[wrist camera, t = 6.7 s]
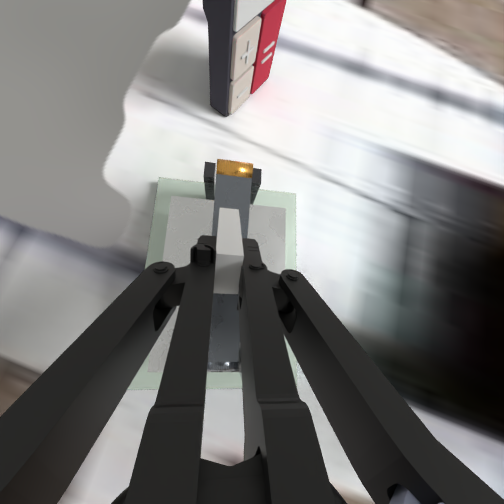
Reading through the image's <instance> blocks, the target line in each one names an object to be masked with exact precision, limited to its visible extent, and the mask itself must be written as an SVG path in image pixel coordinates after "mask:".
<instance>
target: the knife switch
mask: <svg viewBox="0 0 504 504" xmlns="http://www.w3.org/2000/svg"><path fill="white" fill-rule="evenodd" d="M204 185H205V195H206V199H197V198H188V197H178V196H171V202H170V209H169V216H168V224H167V231H166V238H165V246H164V253H163V260H162V261H164V262H169V263H172V264H173V265H174V266H175V268H179V267H184V266H187V265H189V264H190V249H191V247H192V246H194V245H196V244H197V241H198V238H199V237H200V236H202V235H208V236H212V224H213V211H214V198H215V185H216V163H210V162H205V169H204ZM260 185H261V169H256V168H253V174H252V183H251V197H250V210H249V224H248V237H247V238H249V239H255V240H256V241H257V242H258V245H259V250H260V254H261V258H262V262H263V263H264V264H265V265H266V266H267V269H268V270H269V271H271V272H274V273H277V274H281V272H282V271H283V270H285V237H286V208H280V207H271V206H262V205H253V203H254V200H255V198H256V195H257V193H258V190H259V187H260ZM178 310H179V306H177V307H176V310H175V312H174V313H173V315H172V316H171V318H170V320H169V321H168V323H167V325H166V326H165V328H164V330H163V331H162V333H161V335H160V336H159V338H158V339H157V341H156V343H155V344H154V346H153V348H152V349H151V351H150V356H149V363H148V370H147V372H163V370H164V366H165V362H166V358H167V354H168V350H169V346H170V342H171V338H172V334H173V330H174V326H175V322H176V318H177V314H178ZM284 338H285V336H284ZM207 372H239V373H240V376H241V379H242V370H241V350H240V345H239V359H238V371H207Z"/></svg>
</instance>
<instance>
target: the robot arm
mask: <svg viewBox="0 0 504 504" xmlns="http://www.w3.org/2000/svg"><path fill="white" fill-rule="evenodd" d="M238 291H239V298H238V304H237V310H239V329H240V350H241V370H242V390H243V411H244V431H245V443H244V461H243V462H241V463H238V464H236V465H234V466H226V465H222V464H219V463H215V462H212V461H208V460H205V459H201V458H200V457H201V444H202V432H203V419H204V406H205V394H206V381H207V368H208V355H209V343H210V330H211V317H212V305H213V293H220V294H238ZM177 306H179V310H178V314H177V318H176V322H175V326H174V330H173V334H172V338H171V342H170V346H169V350H168V354H167V358H166V362H165V366H164V370H163V374H162V378H161V382H160V386H159V390H158V394H157V398H156V402H155V404H154V406H153V407H152V408H151V409H150V411H149V414H148V417H147V420H146V424H145V427H144V431H143V435H142V439H141V443H140V446H139V450H138V454H137V458H136V462H135V465H134V469H133V473H132V477H131V480H130V484H129V487H127V488H126V489H125V490H124V491H123V492H122V493H121V494H120V495H119V496H118V497H117V498H116V499H115V500H114V501H113V502H112V503H111V504H347V503H346V502H345V500H344V499H343V498H342V496H341V495H340V494H339V493H338V491H337V490H336V489H335V488H334V487H333V485H332V484H331V483H330V482H329V479H328V475H327V471H326V468H325V464H324V460H323V457H322V453H321V449H320V445H319V442H318V438H317V434H316V431H315V427H314V423H313V420H312V416H311V413H310V410H309V408H308V406H307V404H306V403H305V402H303V401H301V400H300V398H299V395H298V391H297V387H296V383H295V379H294V375H293V371H292V367H291V363H290V359H289V355H288V351H287V347H286V342H285V338H286V340H287V342H288V344H289V346H290V348H291V350H292V352H293V353H294V355H295V357H296V359H297V361H298V363H299V365H300V367H301V369H302V371H303V373H304V375H305V376H306V378H307V380H308V382H309V384H310V386H311V388H312V390H313V392H314V394H315V396H316V398H317V399H318V401H319V403H320V405H321V407H322V409H323V411H324V413H325V415H326V417H327V419H328V421H329V422H330V424H331V426H332V428H333V430H334V432H335V434H336V436H337V438H338V440H339V442H340V443H341V445H342V447H343V449H344V451H345V453H346V455H347V457H348V459H349V461H350V463H351V465H352V466H353V468H354V470H355V472H356V473H357V475H358V477H359V479H360V480H361V482H362V484H363V486H364V487H365V489H366V490H367V492H368V493H369V495H370V496H371V498H372V499H373V501H374V502H375V504H504V499H503V498H501V497H500V496H499V495H498V494H497V493H496V492H495V491H494V490H492V489H491V488H490V487H489V486H488V485H487V484H486V483H485V482H483V481H482V480H481V479H480V478H479V477H478V476H477V475H476V474H474V473H473V472H472V471H471V470H470V469H469V468H468V467H467V466H465V465H464V464H463V463H462V462H461V461H460V460H459V459H458V458H456V457H455V456H454V455H453V454H452V453H451V452H450V451H449V450H447V449H446V448H445V447H444V446H443V445H442V444H441V443H440V442H438V441H437V440H436V439H435V437H434V436H433V435H432V434H431V433H430V431H429V430H428V429H427V428H426V426H425V425H424V424H423V423H422V421H421V420H420V419H419V418H418V416H417V415H416V414H415V413H414V412H413V410H412V409H411V408H410V407H409V405H408V404H407V403H406V402H405V400H404V399H403V398H402V397H401V396H400V394H399V393H398V392H397V391H396V389H395V388H394V387H393V386H392V384H391V383H390V382H389V381H388V379H387V378H386V377H385V376H384V375H383V373H382V372H381V371H380V370H379V368H378V367H377V366H376V365H375V363H374V362H373V361H372V360H371V358H370V357H369V356H368V355H367V354H366V352H365V351H364V350H363V349H362V347H361V346H360V345H359V344H358V342H357V341H356V340H355V339H354V338H353V336H352V335H351V334H350V333H349V331H348V330H347V329H346V328H345V326H344V325H343V324H342V323H341V321H340V320H339V319H338V318H337V317H336V315H335V314H334V313H333V312H332V310H331V309H330V308H329V307H328V305H327V304H326V303H325V302H324V300H323V299H322V298H321V297H320V296H319V294H318V293H317V292H316V291H315V289H314V288H313V287H312V286H311V284H310V283H309V282H308V281H307V279H306V278H305V277H304V276H303V275H302V274H301V273H300V272H298V271H296V270H293V269H285V270H283V271H282V272H281V274H277V273H274V272H271V271H269V270H268V269H267V266H266V265H265V264H264V263H263V262H262V258H261V254H260V250H259V245H258V242H257V241H256V240H255V239H249V238H242V234H241V225H240V216H239V209H229V208H220V209H219V221H218V232H217V236H208V235H202V236H200V237H199V238H198V241H197V244H196V245H194V246H192V247H191V249H190V264H189V265H187V266H184V267H179V268H175V266H174V265H173V264H172V263H169V262H164V261H160V262H155V263H152V264H151V265H149V266H148V267H147V268H146V269H145V270H144V271H143V272H142V273H141V274H140V275H139V276H138V277H137V278H136V279H135V280H134V281H133V282H132V283H131V284H130V285H129V286H128V287H127V288H126V289H125V290H124V291H123V292H122V293H121V294H120V295H119V296H118V297H117V299H116V300H115V301H114V302H113V303H112V304H111V305H110V306H109V307H108V308H107V309H106V310H105V311H104V312H103V313H102V314H101V315H100V316H99V317H98V318H97V319H96V320H95V321H94V322H93V323H92V324H91V325H90V326H89V327H88V328H87V329H86V330H85V331H84V332H83V333H82V334H81V335H80V336H79V337H78V338H77V339H76V340H75V341H74V342H73V343H72V344H71V345H70V346H69V347H68V348H67V349H66V350H65V351H64V352H63V353H62V355H61V356H60V357H59V358H58V359H57V360H56V361H55V362H54V363H53V364H52V365H51V366H50V367H49V368H48V369H47V370H46V371H45V372H44V373H43V374H42V375H41V376H40V377H39V378H38V379H37V380H36V381H35V382H34V383H33V384H32V385H31V386H30V387H29V388H28V389H27V390H26V391H25V392H24V393H23V394H22V395H21V396H20V397H19V398H18V399H17V400H16V401H15V402H14V403H13V404H12V405H11V406H10V407H9V408H8V409H7V411H6V412H5V413H4V414H3V415H2V416H1V417H0V504H57V503H58V501H59V500H60V498H61V497H62V495H63V494H64V492H65V491H66V489H67V488H68V486H69V484H70V483H71V481H72V479H73V478H74V476H75V474H76V473H77V471H78V469H79V468H80V466H81V464H82V463H83V461H84V460H85V458H86V456H87V455H88V453H89V451H90V450H91V448H92V446H93V445H94V443H95V441H96V440H97V438H98V437H99V435H100V433H101V432H102V430H103V428H104V427H105V425H106V423H107V422H108V420H109V418H110V417H111V415H112V413H113V412H114V410H115V409H116V407H117V405H118V404H119V402H120V400H121V399H122V397H123V395H124V394H125V392H126V390H127V389H128V387H129V386H130V384H131V382H132V381H133V379H134V377H135V376H136V374H137V372H138V371H139V369H140V367H141V366H142V364H143V363H144V361H145V359H146V358H147V356H148V354H149V353H150V351H151V349H152V348H153V346H154V344H155V343H156V341H157V339H158V338H159V336H160V335H161V333H162V331H163V330H164V328H165V326H166V325H167V323H168V321H169V320H170V318H171V316H172V315H173V313H174V312H175V310H176V307H177ZM284 336H285V338H284Z"/></svg>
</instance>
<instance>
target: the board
mask: <svg viewBox="0 0 504 504" xmlns="http://www.w3.org/2000/svg"><path fill="white" fill-rule="evenodd" d="M171 196H178V197H188V198H197V199H206V195H205V185H204V183H203V182H195V181H186V180H178V179H169V178H161V177H159V180H158V186H157V193H156V199H155V206H154V212H153V219H152V226H151V232H150V239H149V245H148V252H147V258H146V265H145V269H146V268H147V267H148V266H149V265H151V264H152V263H155V262H160V261H162V260H163V253H164V246H165V238H166V231H167V224H168V216H169V209H170V202H171ZM253 205H262V206H271V207H280V208H286V237H285V269H293V270H296V193H287V192H279V191H270V190H262V189H259V190H258V193H257V195H256V198H255V200H254V203H253ZM285 342H286V347H287V351H288V355H289V359H290V363H291V367H292V371H293V375H294V379H295V383H296V387H297V359H296V357H295V355H294V353H293V352H292V350H291V348H290V346H289V344H288V342H287V340H286V338H285ZM149 356H150V353H149V354H148V356H147V358H146V359H145V361H144V363H143V364H142V366H141V367H140V369H139V371H138V372H137V374H136V376H135V377H134V379H133V381H132V382H131V384H130V386H129V387H128V389H127V390H154V389H159V386H160V382H161V378H162V374H163V372H147V370H148V363H149ZM234 388H242V379H241V376H240V373H239V372H207V381H206V389H234Z"/></svg>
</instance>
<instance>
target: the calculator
mask: <svg viewBox="0 0 504 504" xmlns="http://www.w3.org/2000/svg"><path fill="white" fill-rule="evenodd" d="M285 4H286V0H203V9H204V12H205V15H206V18H207V21H208V36H209V71H210V104H211V106H212V107H214V108H215V109H216V110H218V111H219V112H220V113H222V114H223V115H224V116H228V115H229V114H231V115H232V114H233V113H234V112H235V111H236V110H237V109H238V108H239V107H240V106H241V105H242V104H243V103H244V102H245V101H246V100H247V99H248V98H249V95H250V93H251V94H253V93H254V92H255V91H256V90H257V89H258V88H259V87H260V86H261V85H262V84H263V83H264V82H265V81H266V80H267V79H268V77H269V73H270V69H271V64H272V60H273V56H274V52H275V47H276V43H277V39H278V34H279V30H280V26H281V21H282V17H283V13H284V9H285Z"/></svg>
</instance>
